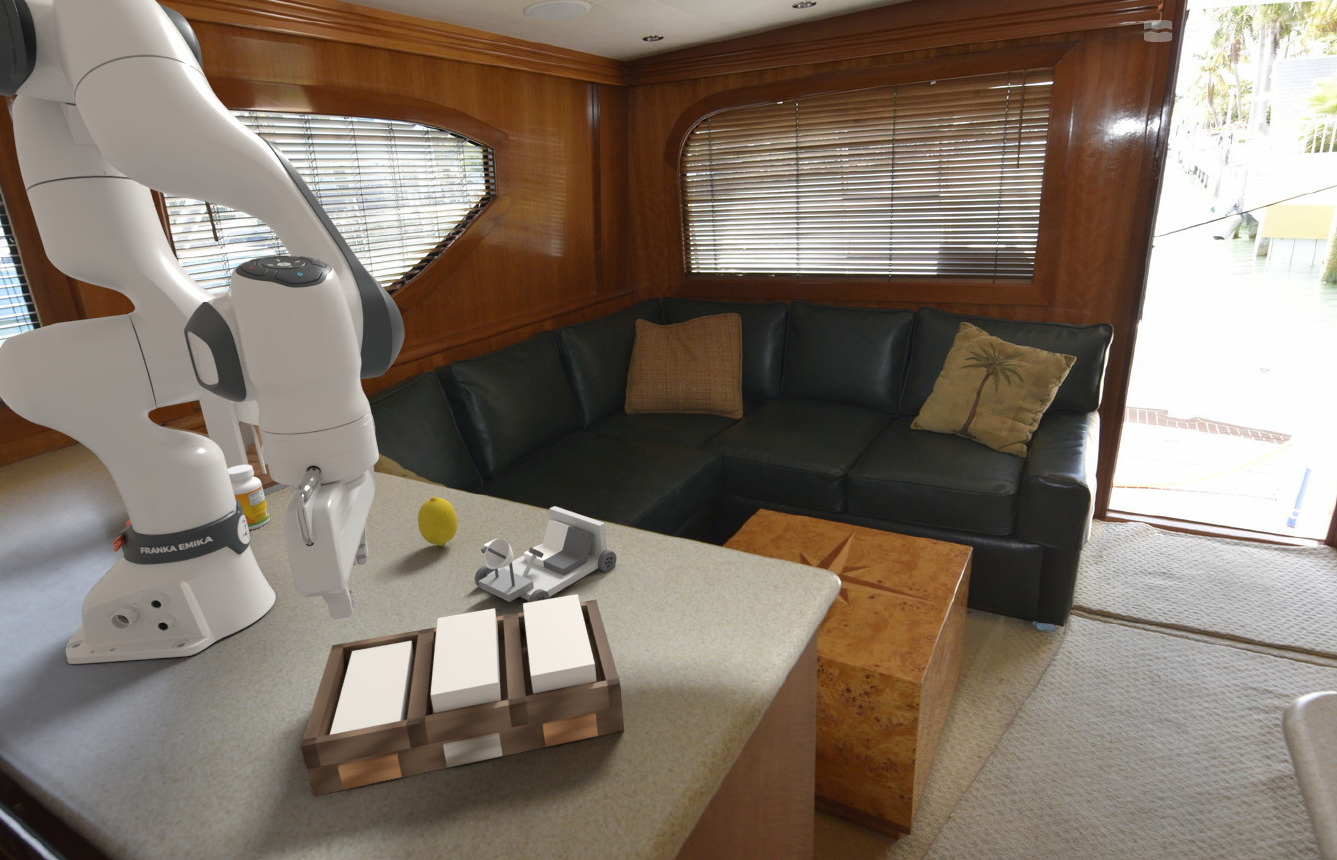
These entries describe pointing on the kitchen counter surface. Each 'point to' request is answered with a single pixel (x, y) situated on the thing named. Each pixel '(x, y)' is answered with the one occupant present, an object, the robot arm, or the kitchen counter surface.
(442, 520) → the lemon
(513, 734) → the brown boxy piece
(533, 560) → the toy car
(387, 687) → the switch
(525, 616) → the switch
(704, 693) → the kitchen counter surface
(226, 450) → the white tiered stand
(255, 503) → the supplement bottle
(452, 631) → the switch
